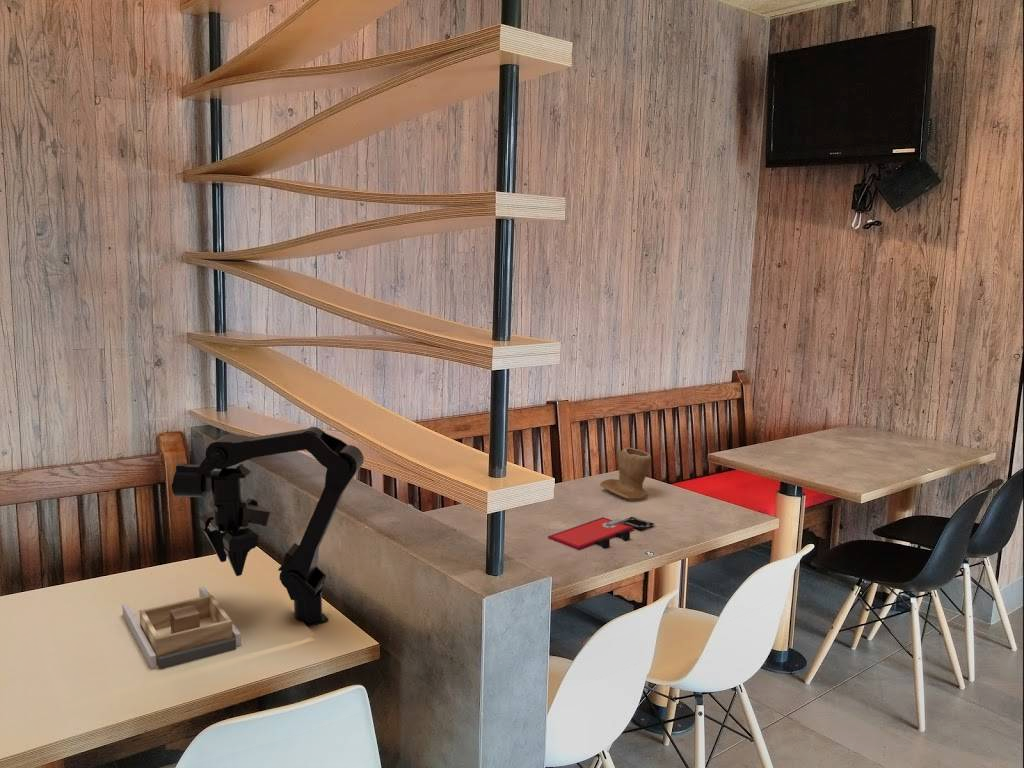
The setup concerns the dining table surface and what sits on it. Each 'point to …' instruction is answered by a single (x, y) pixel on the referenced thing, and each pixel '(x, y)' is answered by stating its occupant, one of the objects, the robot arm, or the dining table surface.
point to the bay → (183, 655)
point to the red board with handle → (598, 532)
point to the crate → (164, 643)
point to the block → (184, 619)
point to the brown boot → (630, 474)
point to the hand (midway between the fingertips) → (231, 568)
